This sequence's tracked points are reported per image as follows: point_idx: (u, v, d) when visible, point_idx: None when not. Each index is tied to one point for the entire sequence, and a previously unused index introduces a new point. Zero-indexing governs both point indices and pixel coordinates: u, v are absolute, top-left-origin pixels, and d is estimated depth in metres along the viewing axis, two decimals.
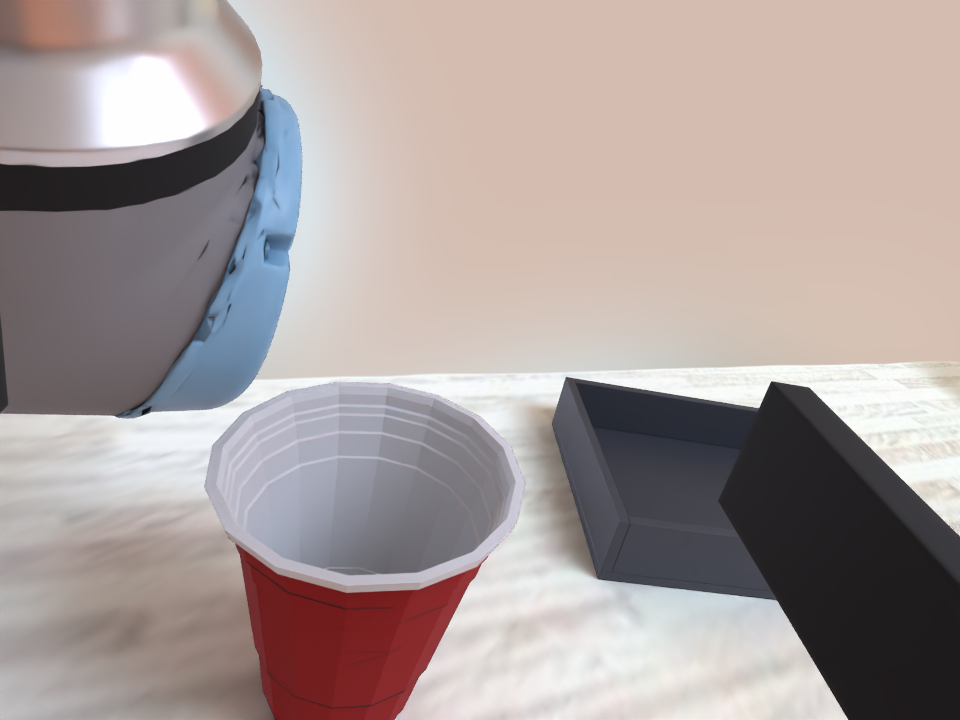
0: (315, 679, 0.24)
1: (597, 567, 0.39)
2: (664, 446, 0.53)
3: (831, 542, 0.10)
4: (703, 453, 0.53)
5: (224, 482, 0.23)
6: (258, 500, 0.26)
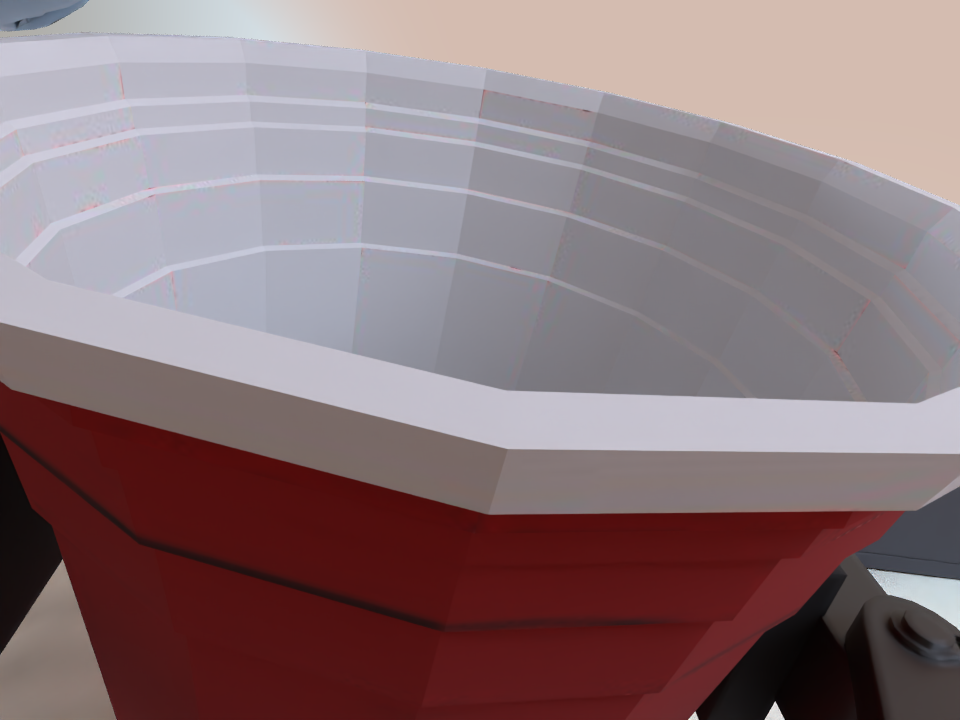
0: None
1: None
2: None
3: None
4: None
5: None
6: None
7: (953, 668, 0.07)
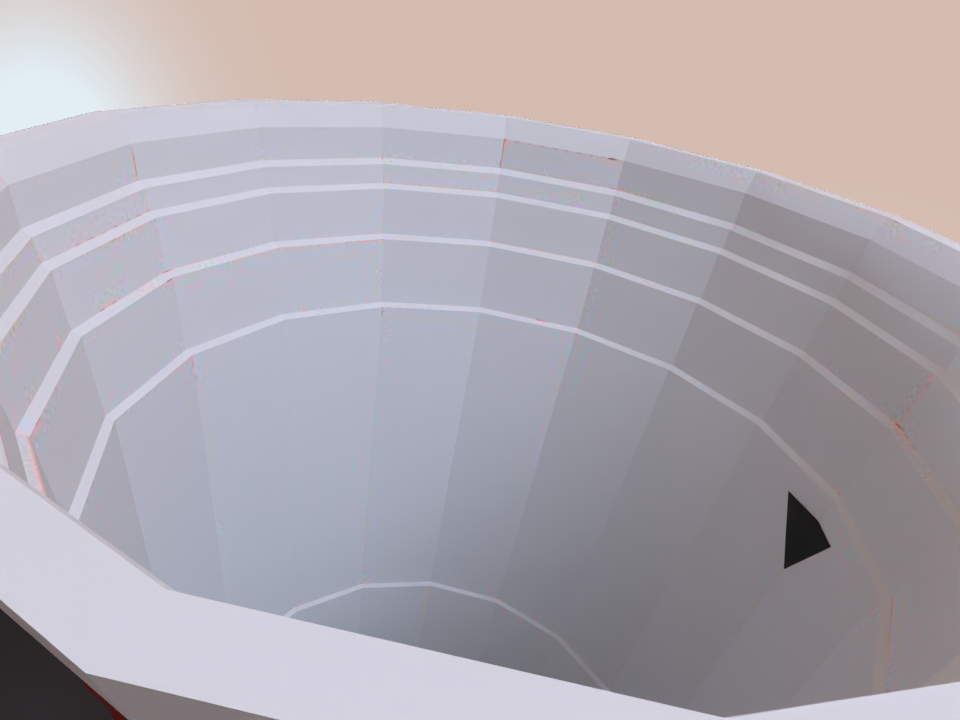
0: None
1: None
2: None
3: None
4: None
5: None
6: (158, 395, 0.08)
7: None
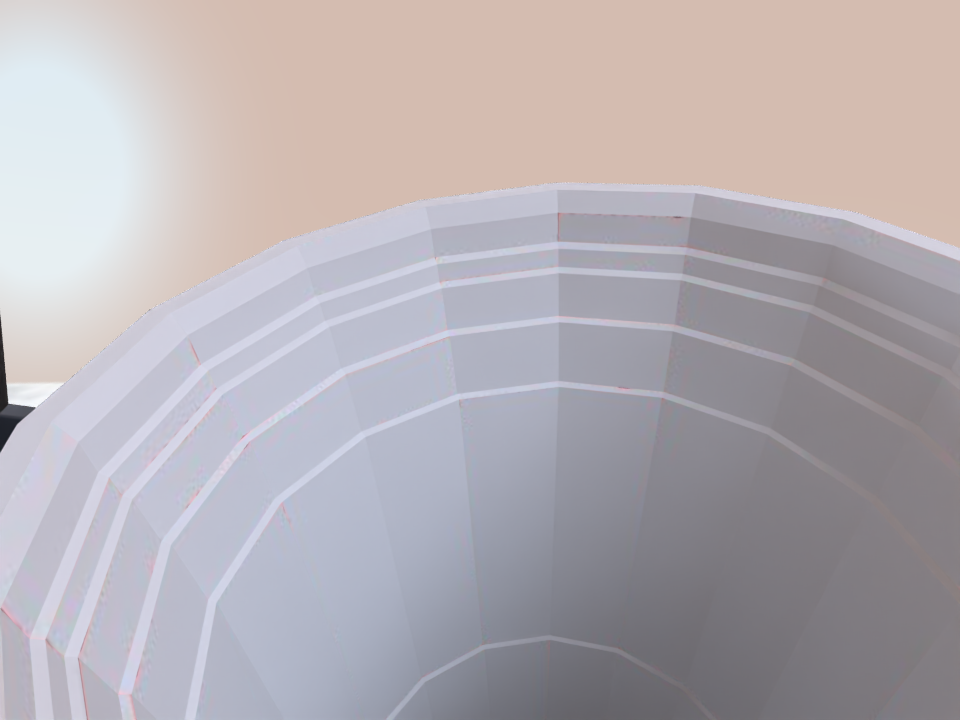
0: None
1: None
2: None
3: None
4: None
5: (40, 561, 0.06)
6: (255, 555, 0.09)
7: None
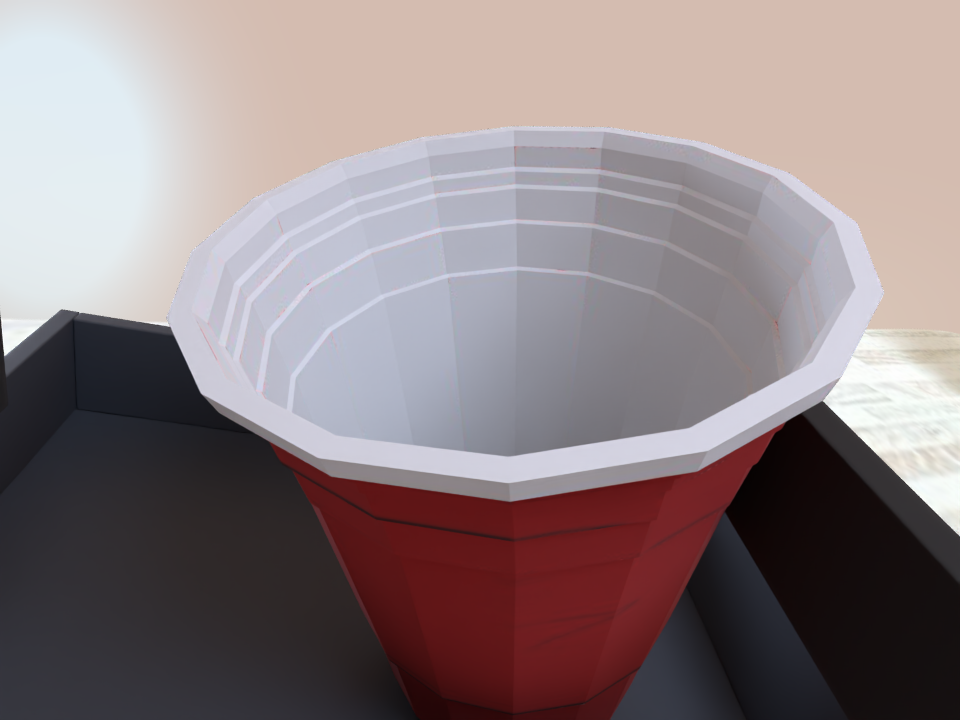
0: (474, 671, 0.12)
1: None
2: None
3: (831, 542, 0.10)
4: None
5: (218, 312, 0.11)
6: (316, 359, 0.14)
7: None
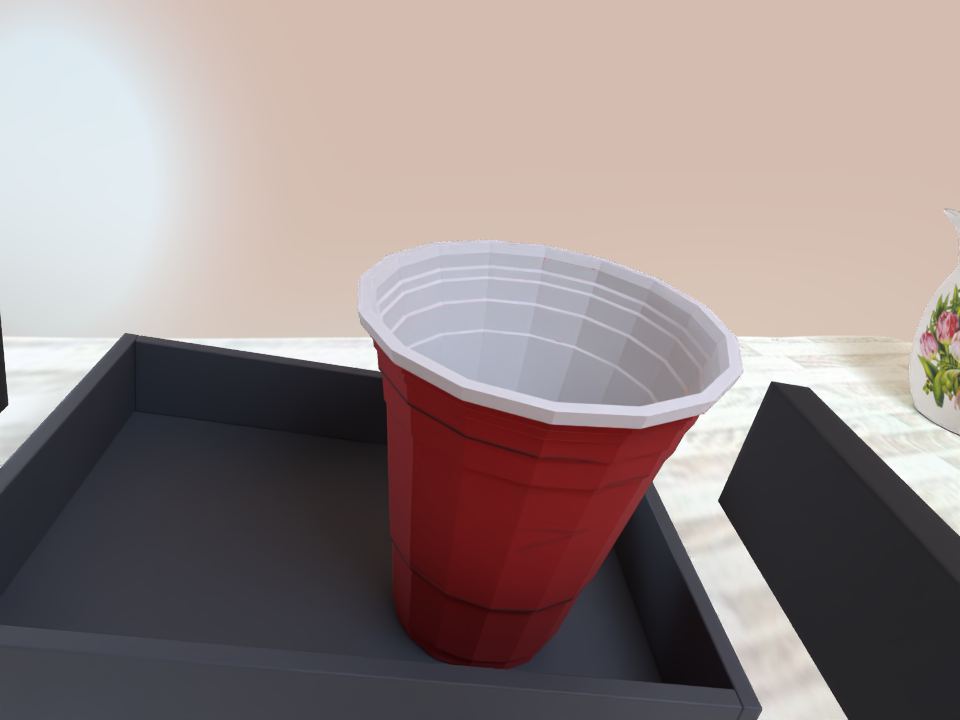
0: (476, 568, 0.19)
1: None
2: (309, 451, 0.31)
3: (831, 542, 0.10)
4: (378, 463, 0.31)
5: None
6: None
7: None
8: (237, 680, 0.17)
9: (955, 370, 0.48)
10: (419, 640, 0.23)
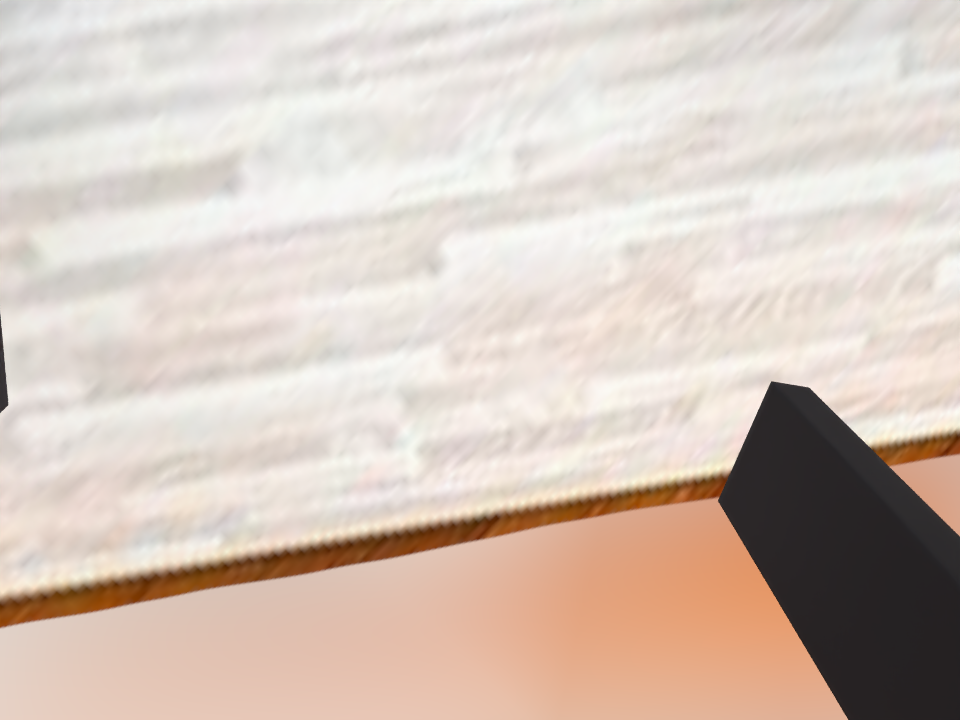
0: None
1: None
2: None
3: (831, 542, 0.10)
4: None
5: None
6: None
7: None
8: None
9: None
10: None
